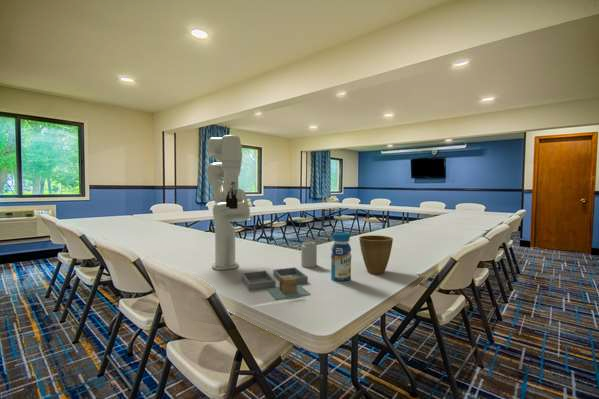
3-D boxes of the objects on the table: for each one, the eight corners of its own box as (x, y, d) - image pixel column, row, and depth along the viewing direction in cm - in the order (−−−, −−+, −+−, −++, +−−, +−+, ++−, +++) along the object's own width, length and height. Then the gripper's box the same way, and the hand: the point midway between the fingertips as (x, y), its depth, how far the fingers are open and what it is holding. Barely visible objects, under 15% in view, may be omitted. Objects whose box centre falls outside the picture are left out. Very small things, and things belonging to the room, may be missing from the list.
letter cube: (279, 289, 105) (279, 276, 105) (292, 287, 107) (292, 274, 107) (283, 294, 100) (283, 280, 100) (296, 292, 102) (296, 278, 102)
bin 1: (242, 280, 118) (242, 273, 118) (265, 277, 122) (265, 270, 122) (249, 291, 105) (248, 284, 105) (275, 288, 109) (275, 280, 108)
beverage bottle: (339, 276, 123) (339, 230, 123) (355, 280, 117) (355, 233, 117) (326, 280, 118) (326, 233, 117) (342, 285, 112) (343, 235, 111)
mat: (266, 290, 106) (266, 288, 106) (299, 286, 111) (299, 284, 111) (275, 301, 96) (275, 299, 96) (310, 296, 101) (310, 293, 101)
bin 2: (273, 276, 123) (273, 269, 123) (295, 274, 127) (295, 267, 127) (283, 287, 110) (283, 279, 110) (307, 284, 113) (307, 276, 113)
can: (315, 269, 134) (315, 244, 133) (299, 268, 135) (300, 243, 135) (317, 265, 141) (317, 241, 141) (302, 264, 143) (302, 240, 142)
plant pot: (394, 269, 134) (394, 236, 133) (390, 279, 120) (390, 241, 119) (362, 266, 140) (363, 234, 139) (355, 274, 126) (355, 238, 126)
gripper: (219, 167, 122) (219, 206, 123) (224, 164, 106) (224, 209, 107) (237, 167, 125) (237, 206, 126) (244, 165, 109) (244, 209, 110)
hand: (231, 207), depth 117 cm, fingers open, 9 cm apart
